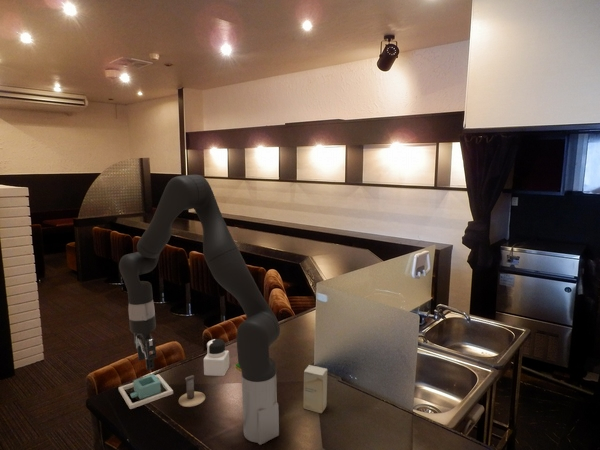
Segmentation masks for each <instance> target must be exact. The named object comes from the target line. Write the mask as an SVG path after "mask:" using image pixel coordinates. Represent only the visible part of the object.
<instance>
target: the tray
mask: <svg viewBox="0 0 600 450" xmlns="http://www.w3.org/2000/svg"><path fill="white" fill-rule="evenodd" d="M154 375H155V374H154ZM155 376H156V378H157V379H158V380H159V381H160V385H161V386H162V387H163V389H165V391H163V392H160V393H157V394H154V395H151V396H149V397H146V398H143V399H139V400H138V401H135V402H132V400H131V399H130V397H129V396H128V395H129V394H127V392H126V391H125V390H130V389H132V388H134V383H133V382H131V383H127V384H124V385H121V386H118V392H119V393H120V395H121V396H122V398H123V399H124V401H125V403H126V405H127V407H128V408H129V409H130V410H132V409H136V408H137V407H141V406H143V405H146V404H149V403H151V402H154V401H157V400H159V399H162V398H165V397H168V396H171V395H174V390H173V389H172V387H171V386H169V384H168V383H167V381H166V380H165V379H164V378H163V377H162V376H161V375H160V374H156V375H155Z"/></svg>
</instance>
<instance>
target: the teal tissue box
mask: <svg viewBox="0 0 600 450" xmlns="http://www.w3.org/2000/svg"><path fill="white" fill-rule="evenodd" d="M132 381H133V382H132V383H134V387H133V390H134V391H133V392H131V393H130V394H129V395H130V397H131V399H134V398H136V397H138V399H139V400H143V399H146V398H149V397H152V396H154V395H157V394H160V393H162V391H161V390H162V388H161V383H160V381H159V380H158V379H157V378H156V376H155V373H152V374H149V375H146V376H144V377H139V378H137V379H133V380H132Z"/></svg>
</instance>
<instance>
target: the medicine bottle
mask: <svg viewBox="0 0 600 450" xmlns="http://www.w3.org/2000/svg"><path fill="white" fill-rule="evenodd" d="M225 345H226V341H224V340H223V339H222V338H221V339H220V338H214V339H211V340H209V341H208V342H207V343H206V348H207V351H206V352H207V354H205V356H204V358H203V359H202V360H203V375H204V376H212V377H213V376H215V377H218V376H219V377H224V376H225V375H226V373H227V372H228V370H229V368H230V351H229V350H226V346H225Z"/></svg>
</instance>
